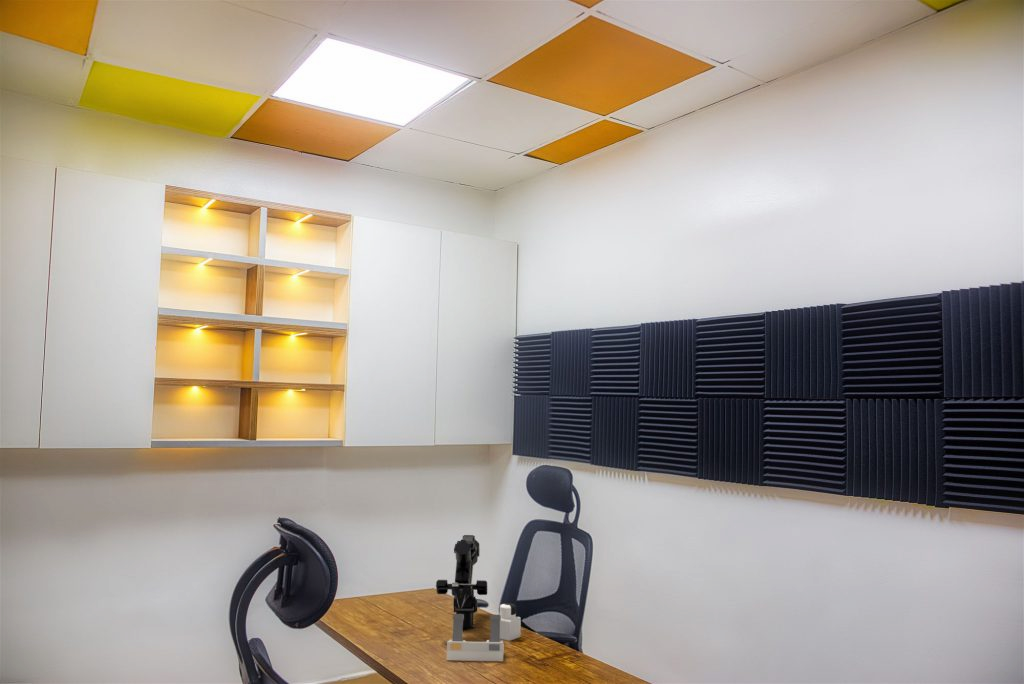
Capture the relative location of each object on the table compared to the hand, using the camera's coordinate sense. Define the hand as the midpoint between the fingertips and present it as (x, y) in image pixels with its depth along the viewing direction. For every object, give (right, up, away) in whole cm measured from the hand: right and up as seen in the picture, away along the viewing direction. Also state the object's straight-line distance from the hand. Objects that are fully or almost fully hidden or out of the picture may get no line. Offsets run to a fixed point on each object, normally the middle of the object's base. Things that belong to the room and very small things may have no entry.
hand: (460, 608), depth 270 cm
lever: (+13, -8, -12) cm, 19 cm away
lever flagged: (0, -8, -11) cm, 14 cm away
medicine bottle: (+17, -14, +9) cm, 24 cm away
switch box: (+6, -12, -13) cm, 19 cm away
